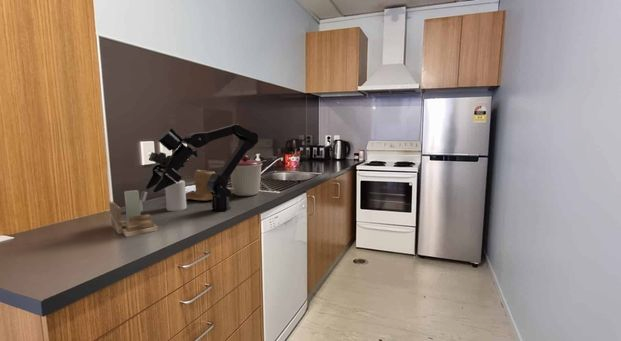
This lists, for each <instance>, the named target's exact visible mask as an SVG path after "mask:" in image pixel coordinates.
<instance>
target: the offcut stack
mask: <svg viewBox="0 0 621 341" xmlns="http://www.w3.org/2000/svg"><path fill="white" fill-rule="evenodd" d="M129 219H130V221H127V220H125V221H126V225H125V226H126V228H125V229H126V230H127V231H128V232H131V231H136V230H141V229H146V228H151V227H154V224H155V223H154V222H153V221H152V215H150V214H149V213H147V214H141V215H140V216H135V217H129ZM125 226H124V227H125Z"/></svg>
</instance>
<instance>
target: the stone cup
mask: <svg viewBox="0 0 621 341" xmlns="http://www.w3.org/2000/svg"><path fill="white" fill-rule="evenodd" d="M212 173H215V174H217V173H216V171H213V170H205V169H204V170H203V169H196V170H195V171H194V175H193V176H194V177H193V178H194V179H193V180H194V185H195V191H189V192H186V200H187V199H188V200H193V201H200V202H201V201H204V202H207V201H212V199H213V196H214V195H212V194H211V192H210V191H209V190H208V189H207V182H208V181H207V180H208V179H209V178H210V177H211V175H212Z"/></svg>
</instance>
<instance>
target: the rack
mask: <svg viewBox="0 0 621 341" xmlns="http://www.w3.org/2000/svg"><path fill="white" fill-rule="evenodd" d="M108 204H109V214H110V222H111V224H110V226H111V227H112V229H113V230H114V231H115V232H116V233H117V234H118V235H121V234H123V235H124V236H125V237H126V238H129V237H133V236H136V235H137V236H138V235H141V234H142V235H143V234H146V233H147V234H149V233H151V232H157V231H159V226H158V225H157V224H155V223H154V227H151V228H146V229H141V230H136V231H131V232H128V231H127V230H126V226H125V225H126V221H127V220H124V221H122V220H123V219H122V209H121V206H119V205H118V204H117V203H115V202H114V201H109V202H108ZM123 227H125V228H123Z"/></svg>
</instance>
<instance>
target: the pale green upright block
mask: <svg viewBox="0 0 621 341" xmlns="http://www.w3.org/2000/svg"><path fill="white" fill-rule="evenodd" d="M123 194H124V203H125V204H124V205H125V213H126V214H125V215H126V221H130V219H129V217H135V216H140V215H142V213H141V212H142V211H140V191H139V190H137V189H135V190H134V189H133V190H125V191H124V192H123Z"/></svg>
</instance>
